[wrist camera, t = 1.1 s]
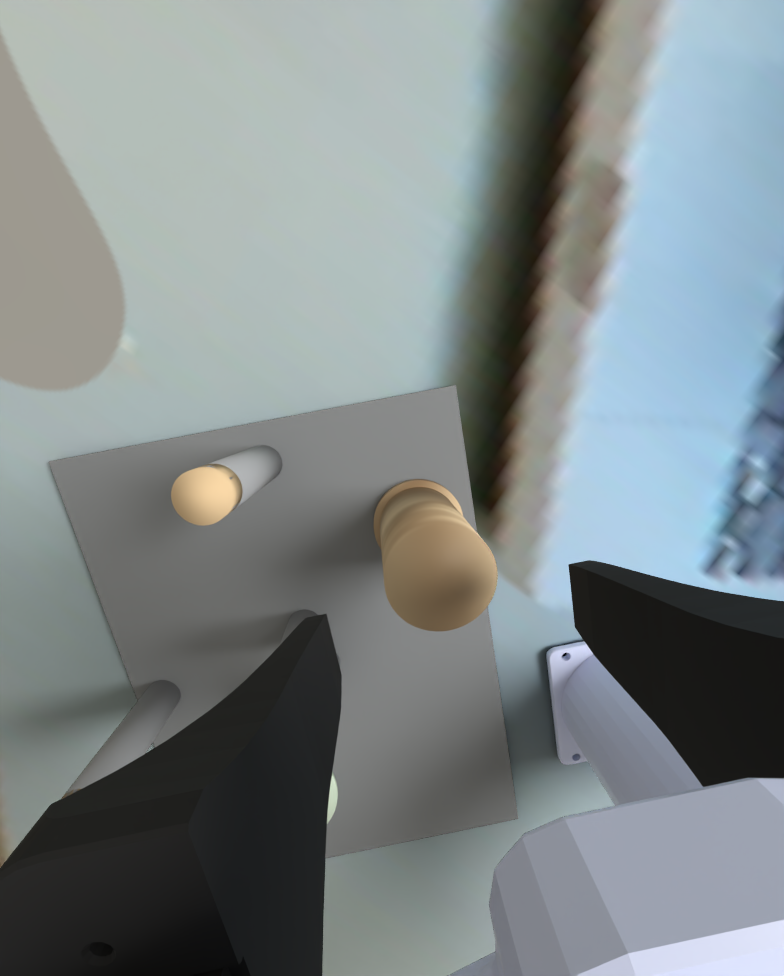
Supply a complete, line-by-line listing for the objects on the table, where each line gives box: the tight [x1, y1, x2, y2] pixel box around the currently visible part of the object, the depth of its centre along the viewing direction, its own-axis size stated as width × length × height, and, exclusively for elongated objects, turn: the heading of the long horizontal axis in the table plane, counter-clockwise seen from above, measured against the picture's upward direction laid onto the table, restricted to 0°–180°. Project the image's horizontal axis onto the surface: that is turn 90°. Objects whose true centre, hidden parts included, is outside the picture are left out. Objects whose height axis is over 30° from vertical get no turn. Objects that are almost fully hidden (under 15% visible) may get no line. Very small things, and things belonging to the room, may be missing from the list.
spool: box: [374, 479, 498, 631], centre depth 17 cm, size 5×5×7 cm
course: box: [49, 385, 518, 858], centre depth 19 cm, size 20×27×8 cm
